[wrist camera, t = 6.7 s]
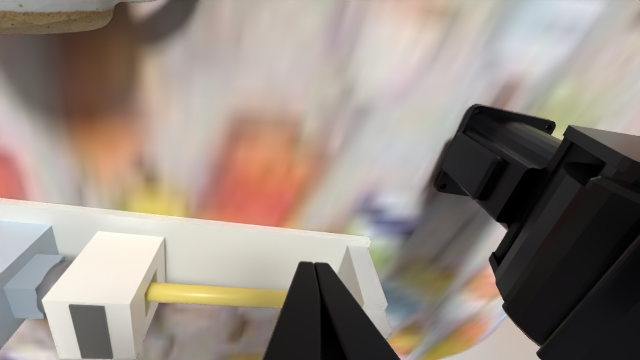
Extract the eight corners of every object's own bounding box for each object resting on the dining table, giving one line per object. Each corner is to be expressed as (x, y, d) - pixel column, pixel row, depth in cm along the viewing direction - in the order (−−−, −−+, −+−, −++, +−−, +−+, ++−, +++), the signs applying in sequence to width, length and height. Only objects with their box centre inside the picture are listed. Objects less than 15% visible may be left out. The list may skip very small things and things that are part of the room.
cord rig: (369, 236, 24) (401, 319, 18) (346, 296, 27) (366, 383, 21) (-1, 197, 19) (-145, 294, 12) (24, 276, 22) (-79, 385, 16)
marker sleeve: (163, 237, 20) (128, 305, 16) (165, 287, 23) (134, 361, 18) (98, 231, 20) (40, 301, 15) (106, 284, 22) (58, 360, 17)
